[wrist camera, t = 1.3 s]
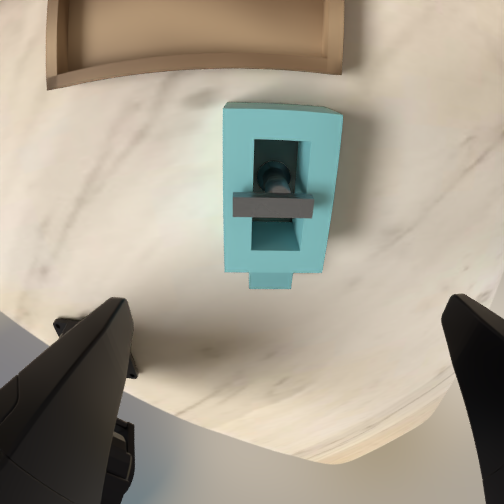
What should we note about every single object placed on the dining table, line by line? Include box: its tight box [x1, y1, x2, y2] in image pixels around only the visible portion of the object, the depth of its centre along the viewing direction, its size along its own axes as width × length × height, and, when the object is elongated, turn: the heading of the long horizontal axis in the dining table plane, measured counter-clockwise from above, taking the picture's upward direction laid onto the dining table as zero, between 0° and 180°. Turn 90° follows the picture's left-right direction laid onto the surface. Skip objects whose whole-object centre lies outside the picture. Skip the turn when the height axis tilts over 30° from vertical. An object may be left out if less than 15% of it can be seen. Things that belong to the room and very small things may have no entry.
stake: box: [233, 161, 314, 219], centre depth 15 cm, size 2×3×4 cm, turn 88°
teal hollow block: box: [223, 102, 343, 289], centre depth 16 cm, size 10×5×3 cm, turn 179°
